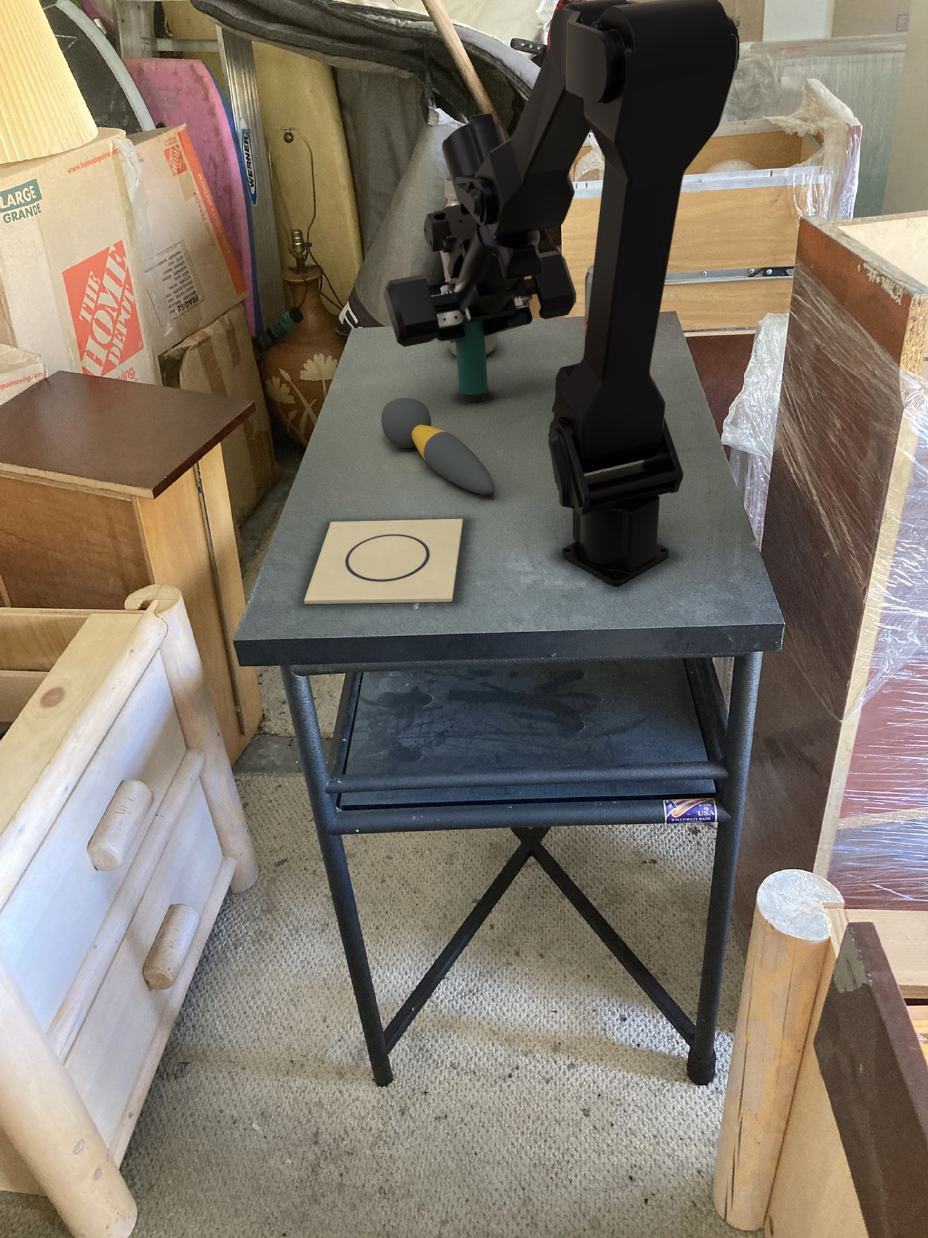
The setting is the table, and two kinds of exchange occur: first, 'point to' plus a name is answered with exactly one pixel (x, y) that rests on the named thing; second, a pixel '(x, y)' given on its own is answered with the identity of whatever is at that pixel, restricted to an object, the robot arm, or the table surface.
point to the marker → (472, 360)
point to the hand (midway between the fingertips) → (466, 335)
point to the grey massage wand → (434, 445)
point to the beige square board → (387, 562)
